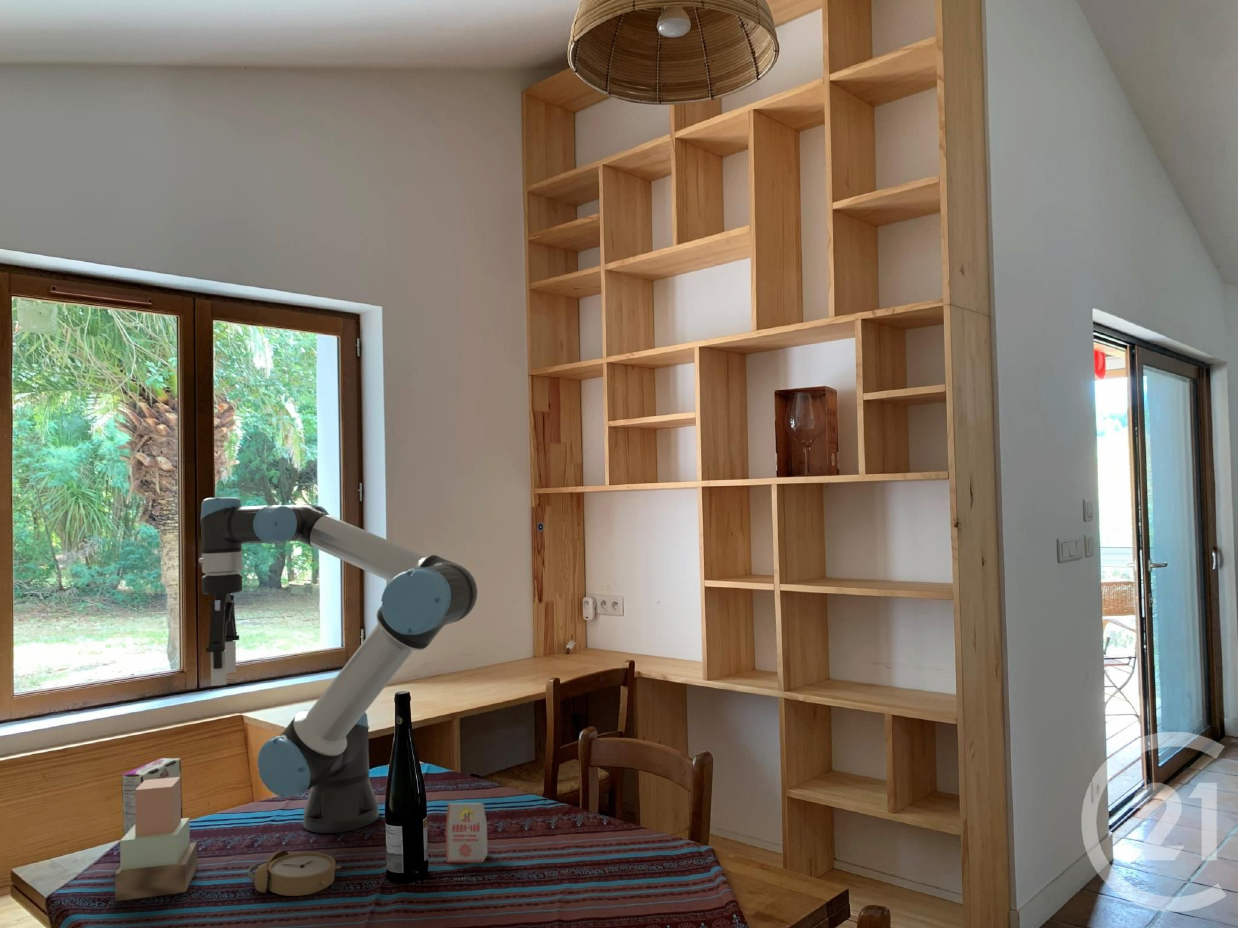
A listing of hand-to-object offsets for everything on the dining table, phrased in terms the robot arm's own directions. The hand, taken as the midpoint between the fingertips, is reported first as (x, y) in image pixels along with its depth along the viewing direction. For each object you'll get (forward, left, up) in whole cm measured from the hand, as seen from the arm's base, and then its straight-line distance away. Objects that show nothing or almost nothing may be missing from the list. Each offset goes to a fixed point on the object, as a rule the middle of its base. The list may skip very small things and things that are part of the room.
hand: (224, 678), depth 186 cm
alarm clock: (-14, +29, -32) cm, 45 cm away
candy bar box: (+13, +2, -32) cm, 35 cm away
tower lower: (+9, +20, -32) cm, 39 cm away
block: (+8, +20, -22) cm, 31 cm away
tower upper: (+9, +20, -27) cm, 35 cm away
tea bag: (-45, +28, -32) cm, 62 cm away
